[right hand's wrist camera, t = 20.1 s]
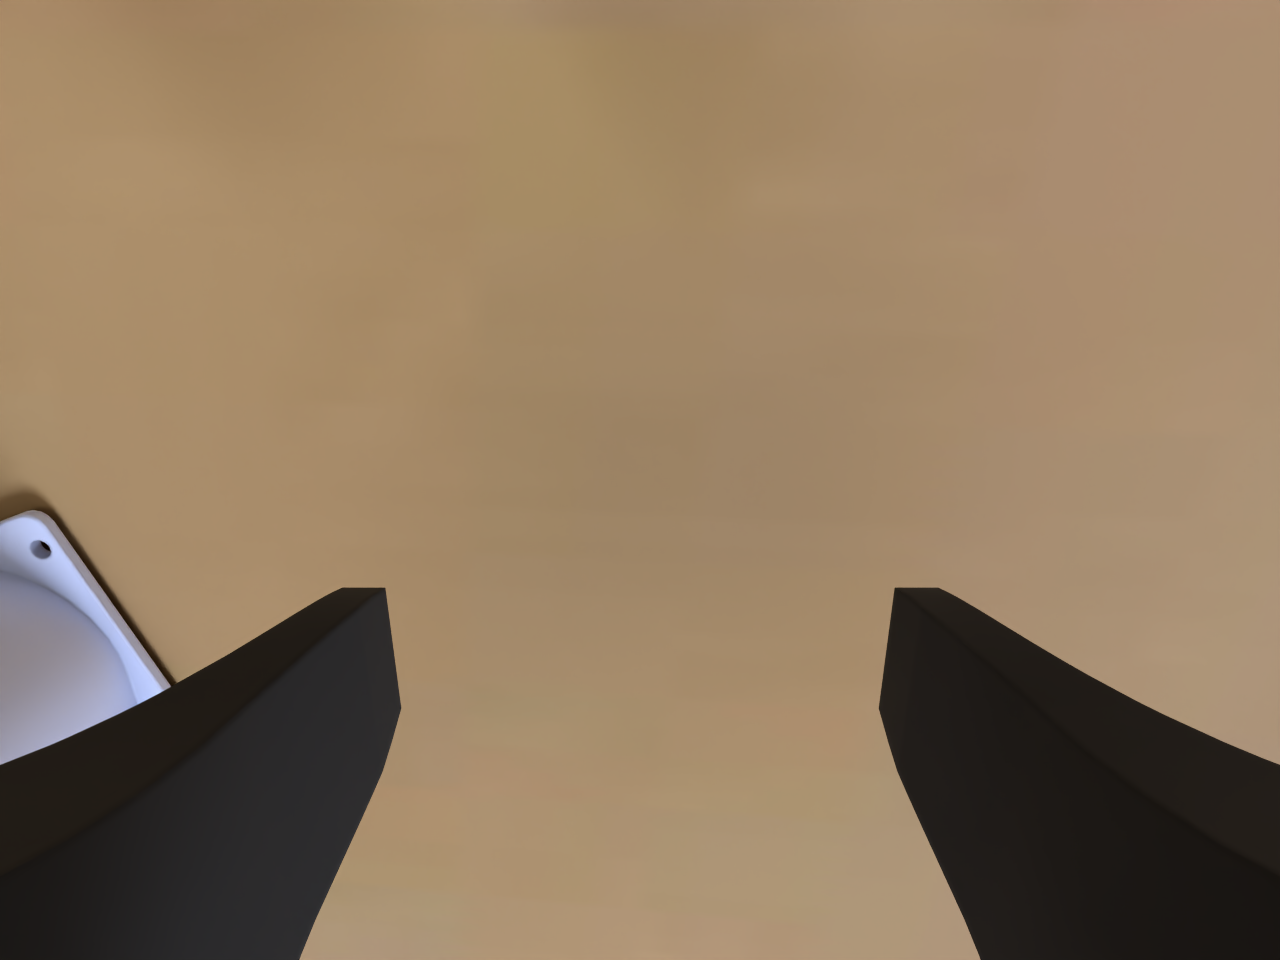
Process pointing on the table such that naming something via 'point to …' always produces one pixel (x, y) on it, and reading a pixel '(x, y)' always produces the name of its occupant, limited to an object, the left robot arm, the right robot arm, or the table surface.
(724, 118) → the table surface
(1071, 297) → the table surface
